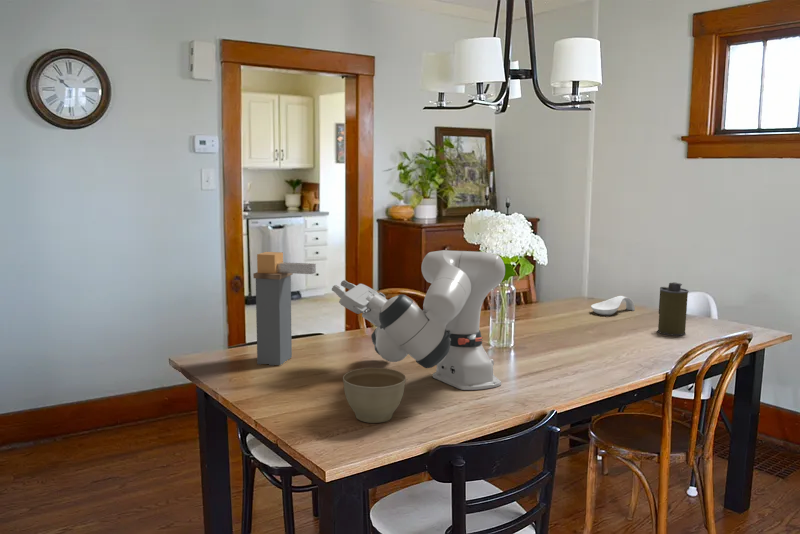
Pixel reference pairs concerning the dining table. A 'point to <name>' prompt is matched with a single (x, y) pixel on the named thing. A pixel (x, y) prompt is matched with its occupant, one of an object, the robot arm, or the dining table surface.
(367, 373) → the planter bowl
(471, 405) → the dining table surface
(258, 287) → the cabinet stand
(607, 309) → the spoon rest
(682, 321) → the canister
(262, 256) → the bar
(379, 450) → the dining table surface
